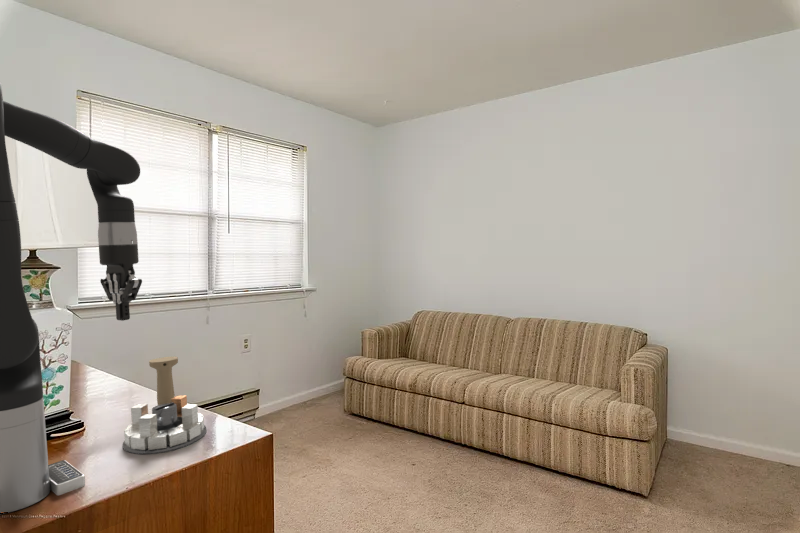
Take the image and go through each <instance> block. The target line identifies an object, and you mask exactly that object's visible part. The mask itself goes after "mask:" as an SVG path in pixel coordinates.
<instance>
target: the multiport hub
mask: <svg viewBox="0 0 800 533" xmlns="http://www.w3.org/2000/svg"><path fill="white" fill-rule="evenodd" d="M48 467H49V477H50V491H51V492H52V493H54V494H55V495H56V496H62V495H64V494H67V493H69V492H72V491H75V490H77V489H80V488H82V487H85V486H86V477H85V474H84V473H83V472H82V471H80V470H79V469H78V468H76V467H75V466H73V465H72V464H71V463H69V462H68V461H67V460H66V459H63V460H59V461H57V462H54V463H51V464H48Z"/></svg>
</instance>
